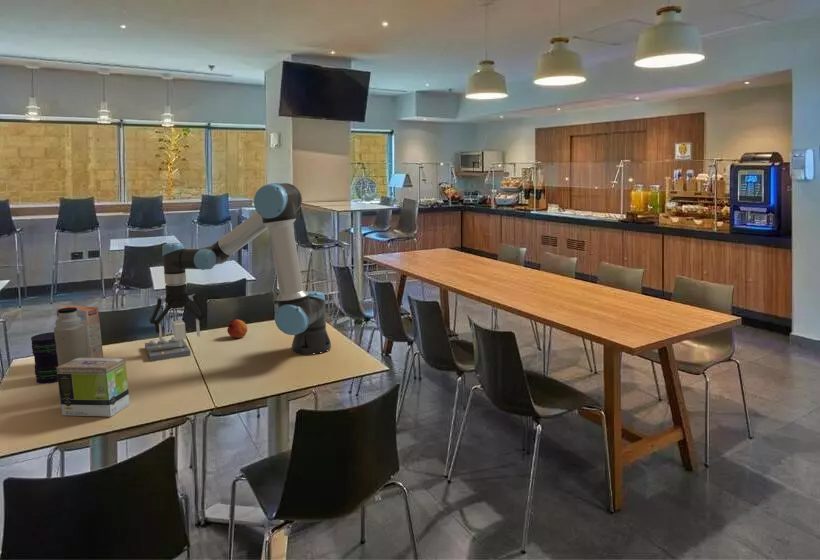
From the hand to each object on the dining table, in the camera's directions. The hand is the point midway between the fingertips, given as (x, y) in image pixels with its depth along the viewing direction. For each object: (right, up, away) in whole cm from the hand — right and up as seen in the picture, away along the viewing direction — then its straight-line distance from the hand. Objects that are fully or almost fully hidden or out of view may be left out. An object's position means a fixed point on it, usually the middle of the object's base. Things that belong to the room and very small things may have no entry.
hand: (180, 338), depth 221 cm
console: (-6, -5, +2) cm, 8 cm away
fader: (0, -3, +1) cm, 3 cm away
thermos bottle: (-14, -14, -43) cm, 48 cm away
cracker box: (-31, -8, -11) cm, 34 cm away
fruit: (+16, -2, +21) cm, 27 cm away
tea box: (-3, -16, -54) cm, 56 cm away
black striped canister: (-32, -11, -27) cm, 43 cm away
